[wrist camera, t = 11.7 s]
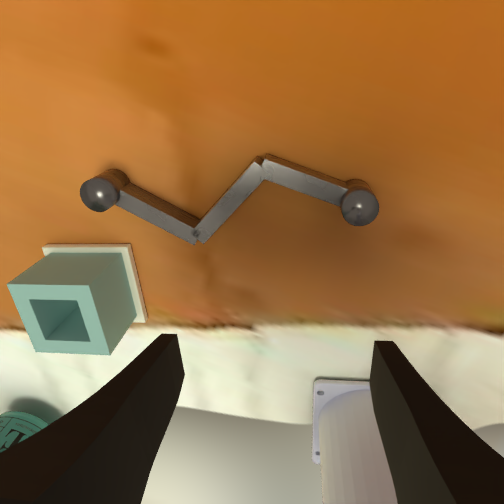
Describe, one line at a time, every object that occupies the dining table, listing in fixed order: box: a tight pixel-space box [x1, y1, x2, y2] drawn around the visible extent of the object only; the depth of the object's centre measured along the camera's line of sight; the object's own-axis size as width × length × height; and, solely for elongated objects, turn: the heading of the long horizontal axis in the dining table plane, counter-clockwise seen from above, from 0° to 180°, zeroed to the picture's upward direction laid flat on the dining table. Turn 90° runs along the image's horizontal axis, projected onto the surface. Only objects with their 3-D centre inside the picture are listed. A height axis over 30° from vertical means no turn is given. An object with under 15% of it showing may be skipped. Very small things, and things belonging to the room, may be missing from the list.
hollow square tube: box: [7, 252, 137, 355], centre depth 23 cm, size 5×5×4 cm
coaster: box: [42, 244, 148, 323], centre depth 25 cm, size 6×6×1 cm
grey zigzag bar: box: [80, 154, 379, 245], centre depth 20 cm, size 5×16×2 cm, turn 94°
